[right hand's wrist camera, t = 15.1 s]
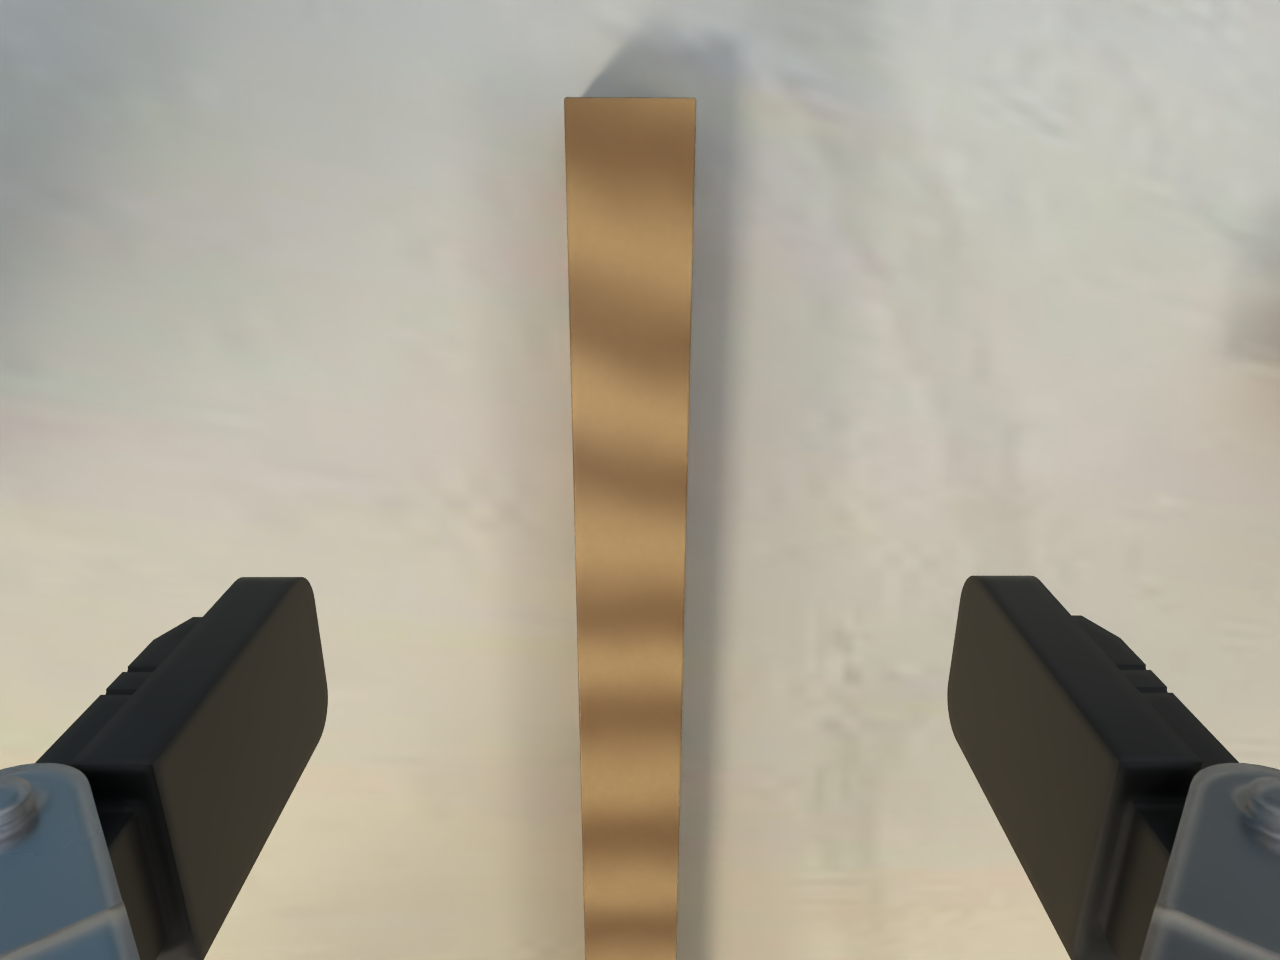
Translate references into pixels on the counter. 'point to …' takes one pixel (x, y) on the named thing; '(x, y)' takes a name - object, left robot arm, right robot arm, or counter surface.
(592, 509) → the beam
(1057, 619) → the right robot arm
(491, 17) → the counter surface
